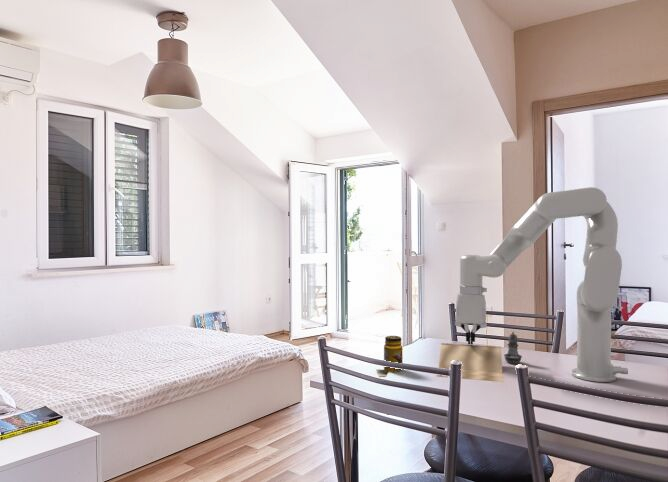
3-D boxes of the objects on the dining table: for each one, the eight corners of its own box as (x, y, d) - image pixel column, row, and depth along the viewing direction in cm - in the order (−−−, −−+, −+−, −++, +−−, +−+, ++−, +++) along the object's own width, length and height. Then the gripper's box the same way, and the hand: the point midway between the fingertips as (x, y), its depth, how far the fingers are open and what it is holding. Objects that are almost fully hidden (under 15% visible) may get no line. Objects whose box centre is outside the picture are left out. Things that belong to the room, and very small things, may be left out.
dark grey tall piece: (523, 365, 171) (523, 331, 171) (519, 369, 166) (520, 333, 166) (506, 363, 174) (506, 329, 174) (501, 366, 169) (502, 332, 169)
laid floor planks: (502, 376, 158) (502, 372, 158) (503, 385, 148) (503, 381, 148) (438, 371, 163) (438, 367, 163) (436, 380, 154) (436, 376, 154)
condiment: (405, 376, 158) (405, 339, 158) (379, 376, 158) (379, 339, 157) (401, 370, 165) (401, 334, 165) (376, 370, 165) (376, 334, 165)
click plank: (501, 349, 168) (501, 346, 168) (502, 375, 159) (502, 372, 158) (441, 345, 174) (441, 342, 174) (438, 370, 164) (438, 367, 164)
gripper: (493, 290, 172) (492, 342, 172) (449, 288, 176) (448, 340, 176) (494, 292, 164) (493, 347, 165) (448, 291, 169) (447, 344, 169)
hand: (470, 343), depth 170 cm, fingers closed
